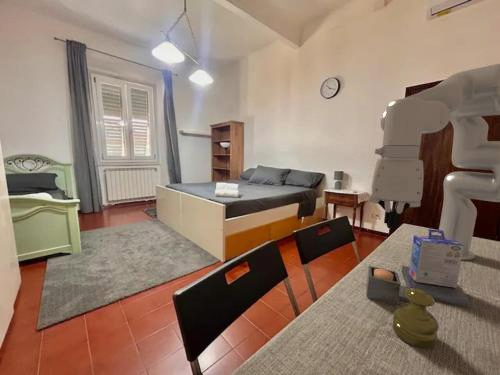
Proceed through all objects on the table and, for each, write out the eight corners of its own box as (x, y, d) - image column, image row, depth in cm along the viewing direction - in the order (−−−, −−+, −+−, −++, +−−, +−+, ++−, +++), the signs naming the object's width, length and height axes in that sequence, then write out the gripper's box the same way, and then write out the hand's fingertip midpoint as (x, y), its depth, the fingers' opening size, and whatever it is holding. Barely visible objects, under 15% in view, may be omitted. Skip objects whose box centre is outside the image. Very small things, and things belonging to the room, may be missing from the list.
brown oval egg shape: (371, 285, 62) (373, 267, 61) (389, 290, 60) (392, 271, 59) (372, 294, 58) (374, 275, 57) (392, 299, 56) (394, 279, 55)
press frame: (365, 263, 76) (367, 246, 75) (449, 281, 66) (452, 262, 65) (366, 297, 58) (369, 276, 57) (483, 329, 48) (488, 304, 47)
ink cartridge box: (445, 277, 65) (454, 230, 62) (458, 289, 59) (467, 237, 57) (407, 272, 67) (413, 226, 65) (415, 282, 62) (423, 233, 59)
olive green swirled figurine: (441, 339, 45) (450, 295, 44) (426, 356, 41) (434, 308, 40) (401, 316, 51) (407, 277, 50) (385, 329, 47) (390, 286, 46)
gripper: (364, 153, 53) (357, 226, 56) (444, 154, 47) (431, 237, 50) (364, 153, 60) (358, 218, 63) (434, 154, 53) (423, 227, 56)
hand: (390, 226), depth 56 cm, fingers closed
